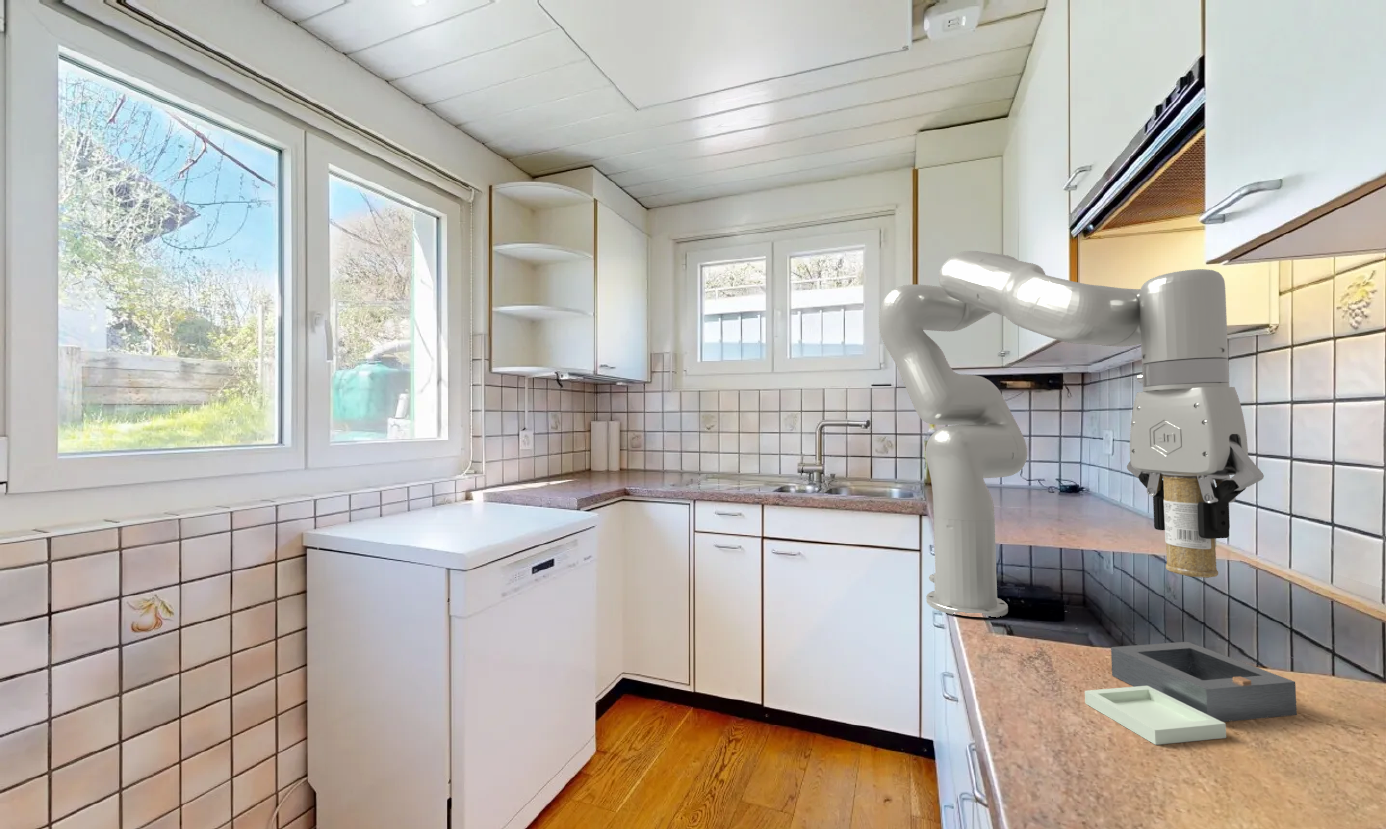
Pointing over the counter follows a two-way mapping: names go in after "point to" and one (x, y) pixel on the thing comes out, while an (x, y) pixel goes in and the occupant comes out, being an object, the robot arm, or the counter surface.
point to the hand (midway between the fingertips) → (1190, 531)
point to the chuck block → (1206, 680)
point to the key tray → (1155, 715)
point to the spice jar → (1186, 529)
